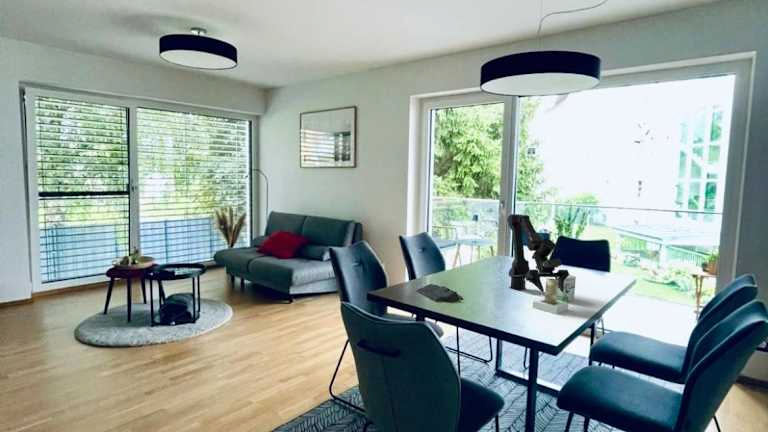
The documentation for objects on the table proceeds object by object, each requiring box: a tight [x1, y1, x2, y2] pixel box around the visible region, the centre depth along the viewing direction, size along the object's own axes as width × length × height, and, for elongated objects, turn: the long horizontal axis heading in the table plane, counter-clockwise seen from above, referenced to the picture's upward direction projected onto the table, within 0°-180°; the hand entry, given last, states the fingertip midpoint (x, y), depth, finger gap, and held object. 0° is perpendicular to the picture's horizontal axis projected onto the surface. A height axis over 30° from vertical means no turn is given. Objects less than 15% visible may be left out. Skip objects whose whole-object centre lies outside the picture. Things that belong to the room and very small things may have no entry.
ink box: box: [557, 274, 577, 302], centre depth 204 cm, size 9×5×12 cm, turn 120°
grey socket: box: [532, 296, 569, 315], centre depth 190 cm, size 11×11×3 cm
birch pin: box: [544, 278, 558, 305], centre depth 190 cm, size 5×5×13 cm
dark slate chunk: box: [416, 283, 464, 304], centre depth 206 cm, size 15×22×5 cm
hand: (552, 291), depth 188 cm, fingers open, 9 cm apart
